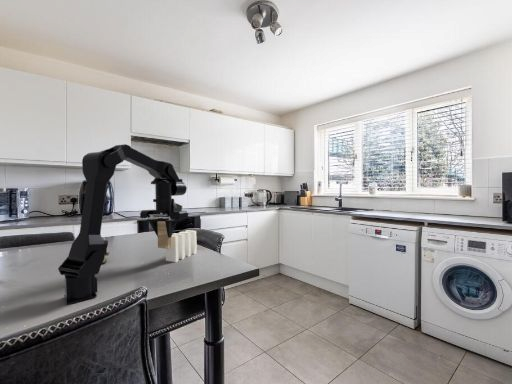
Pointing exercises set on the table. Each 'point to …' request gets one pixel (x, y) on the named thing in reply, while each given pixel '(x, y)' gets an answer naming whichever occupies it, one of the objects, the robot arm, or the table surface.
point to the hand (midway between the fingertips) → (164, 237)
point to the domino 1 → (163, 236)
